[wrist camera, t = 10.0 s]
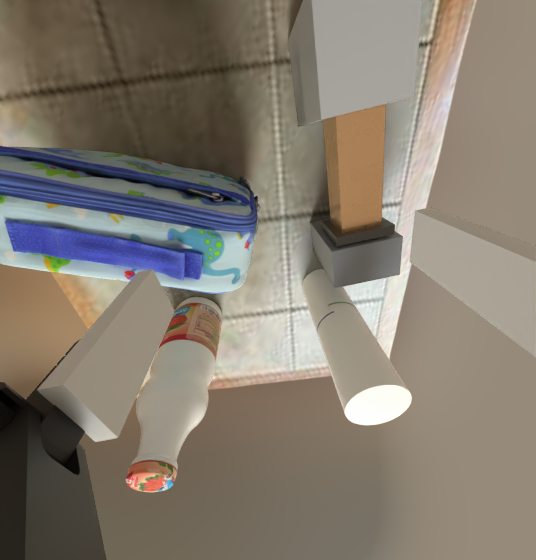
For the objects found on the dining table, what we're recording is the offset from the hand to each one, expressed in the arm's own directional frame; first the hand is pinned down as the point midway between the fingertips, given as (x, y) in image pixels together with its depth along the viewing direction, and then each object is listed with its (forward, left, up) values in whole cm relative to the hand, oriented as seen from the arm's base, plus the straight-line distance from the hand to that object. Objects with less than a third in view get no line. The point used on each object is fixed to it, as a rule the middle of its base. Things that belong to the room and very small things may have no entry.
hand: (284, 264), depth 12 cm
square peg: (+2, +11, -24) cm, 26 cm away
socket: (+11, +11, -29) cm, 33 cm away
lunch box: (-1, -14, -29) cm, 32 cm away
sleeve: (-10, +11, -29) cm, 32 cm away
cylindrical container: (+21, +7, -29) cm, 36 cm away
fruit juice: (+22, -18, -29) cm, 41 cm away
